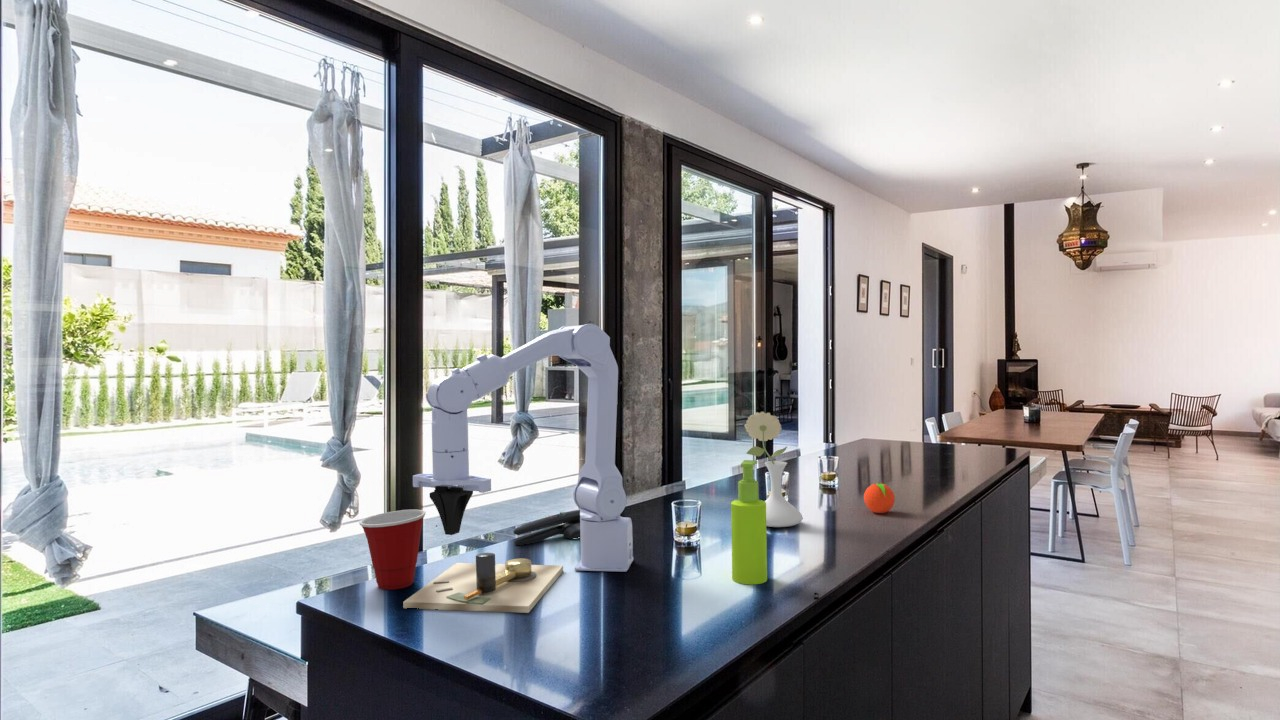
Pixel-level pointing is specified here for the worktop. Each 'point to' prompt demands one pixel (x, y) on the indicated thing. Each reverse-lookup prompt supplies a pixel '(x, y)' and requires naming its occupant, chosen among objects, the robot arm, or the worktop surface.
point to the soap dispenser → (748, 531)
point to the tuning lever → (489, 580)
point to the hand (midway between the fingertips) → (452, 533)
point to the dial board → (506, 597)
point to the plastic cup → (394, 546)
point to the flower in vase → (772, 471)
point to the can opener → (567, 529)
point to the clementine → (879, 498)
